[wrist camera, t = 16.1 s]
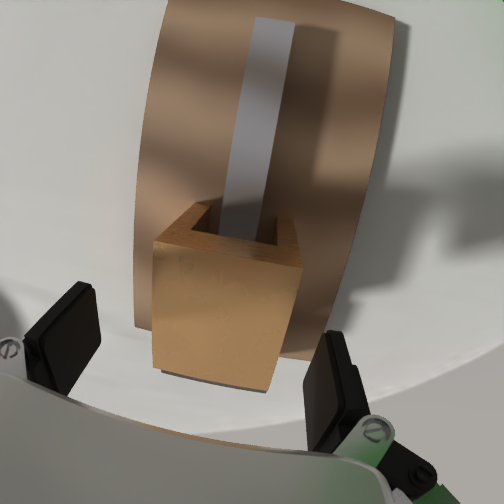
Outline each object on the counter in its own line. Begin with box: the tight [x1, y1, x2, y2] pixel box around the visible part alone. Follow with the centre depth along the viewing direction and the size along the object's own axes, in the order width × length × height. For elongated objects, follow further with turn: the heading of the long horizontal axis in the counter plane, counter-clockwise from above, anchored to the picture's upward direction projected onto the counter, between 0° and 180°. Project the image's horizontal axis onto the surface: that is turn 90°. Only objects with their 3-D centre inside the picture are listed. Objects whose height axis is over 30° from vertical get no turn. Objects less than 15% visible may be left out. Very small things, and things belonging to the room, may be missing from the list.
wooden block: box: [152, 202, 303, 391], centre depth 16 cm, size 7×6×7 cm
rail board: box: [133, 0, 395, 393], centre depth 16 cm, size 25×14×6 cm, turn 170°
